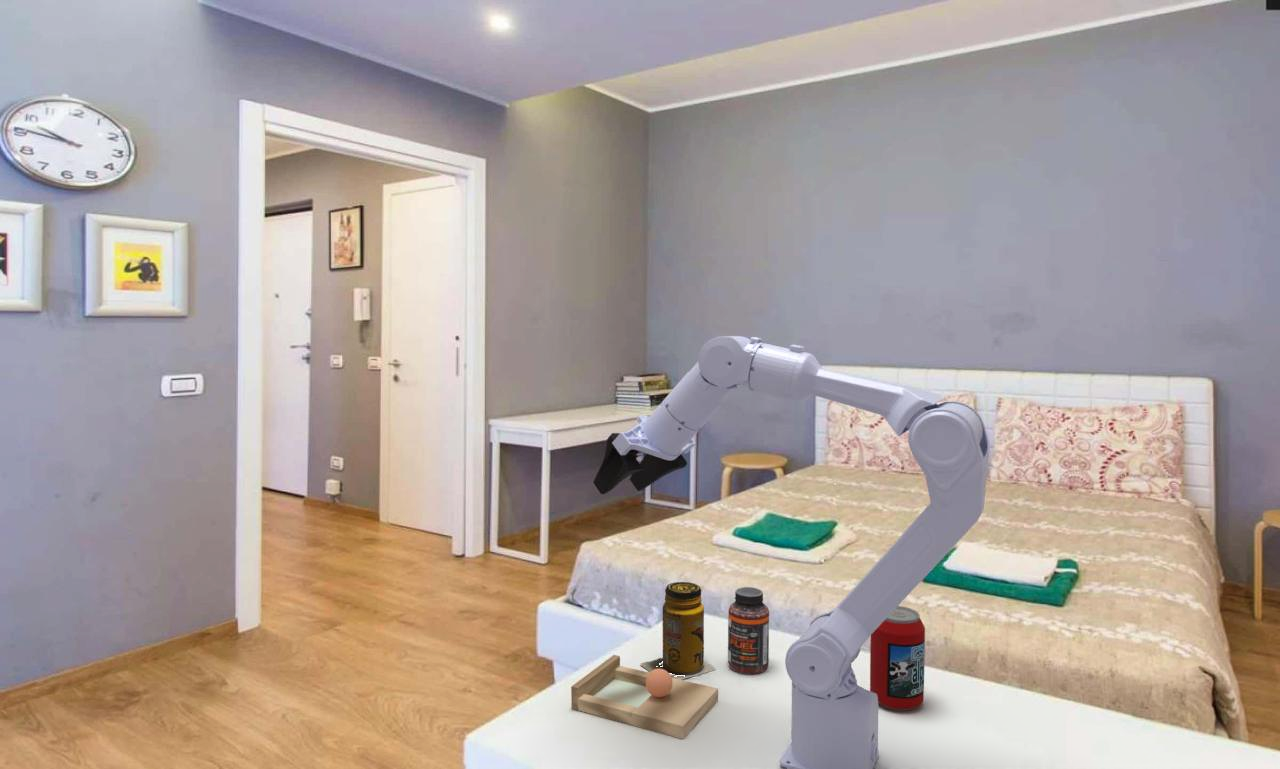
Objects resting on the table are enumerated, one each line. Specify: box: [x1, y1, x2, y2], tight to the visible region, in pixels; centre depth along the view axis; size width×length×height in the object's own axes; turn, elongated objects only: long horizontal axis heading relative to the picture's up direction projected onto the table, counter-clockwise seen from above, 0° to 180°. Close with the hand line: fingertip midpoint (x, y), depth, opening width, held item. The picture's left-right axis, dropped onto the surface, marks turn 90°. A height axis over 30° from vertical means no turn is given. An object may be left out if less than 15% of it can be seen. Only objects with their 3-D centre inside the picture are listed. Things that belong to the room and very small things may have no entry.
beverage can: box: [869, 605, 926, 711], centre depth 100 cm, size 7×7×12 cm
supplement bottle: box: [727, 586, 770, 675], centre depth 111 cm, size 6×6×11 cm
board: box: [570, 654, 719, 740], centre depth 100 cm, size 16×11×3 cm
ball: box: [646, 669, 673, 697], centre depth 99 cm, size 4×4×4 cm
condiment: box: [640, 581, 717, 680], centre depth 111 cm, size 7×8×12 cm
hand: (617, 486), depth 99 cm, fingers open, 7 cm apart
